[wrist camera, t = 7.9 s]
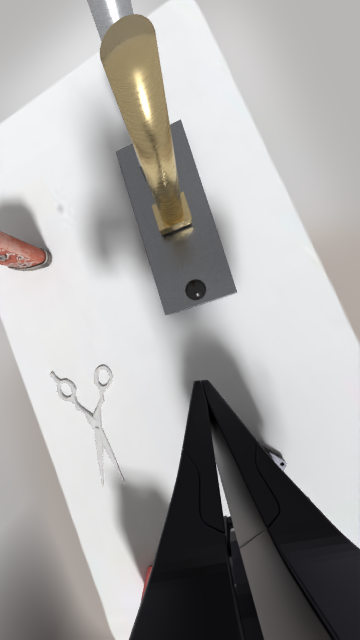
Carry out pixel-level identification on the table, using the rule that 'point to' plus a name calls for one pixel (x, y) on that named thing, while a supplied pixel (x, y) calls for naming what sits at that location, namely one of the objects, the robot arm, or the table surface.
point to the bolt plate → (186, 242)
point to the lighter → (22, 254)
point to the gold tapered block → (145, 113)
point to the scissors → (92, 416)
